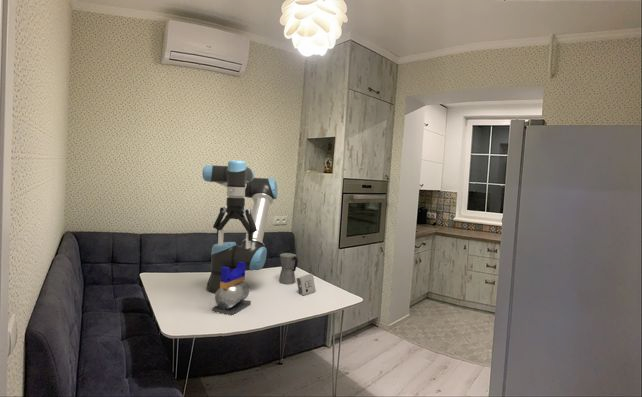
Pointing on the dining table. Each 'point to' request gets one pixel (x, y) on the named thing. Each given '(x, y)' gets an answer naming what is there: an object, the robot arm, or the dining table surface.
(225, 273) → the blue notched block
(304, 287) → the electrical switch
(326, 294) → the dining table surface
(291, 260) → the coffeepot
